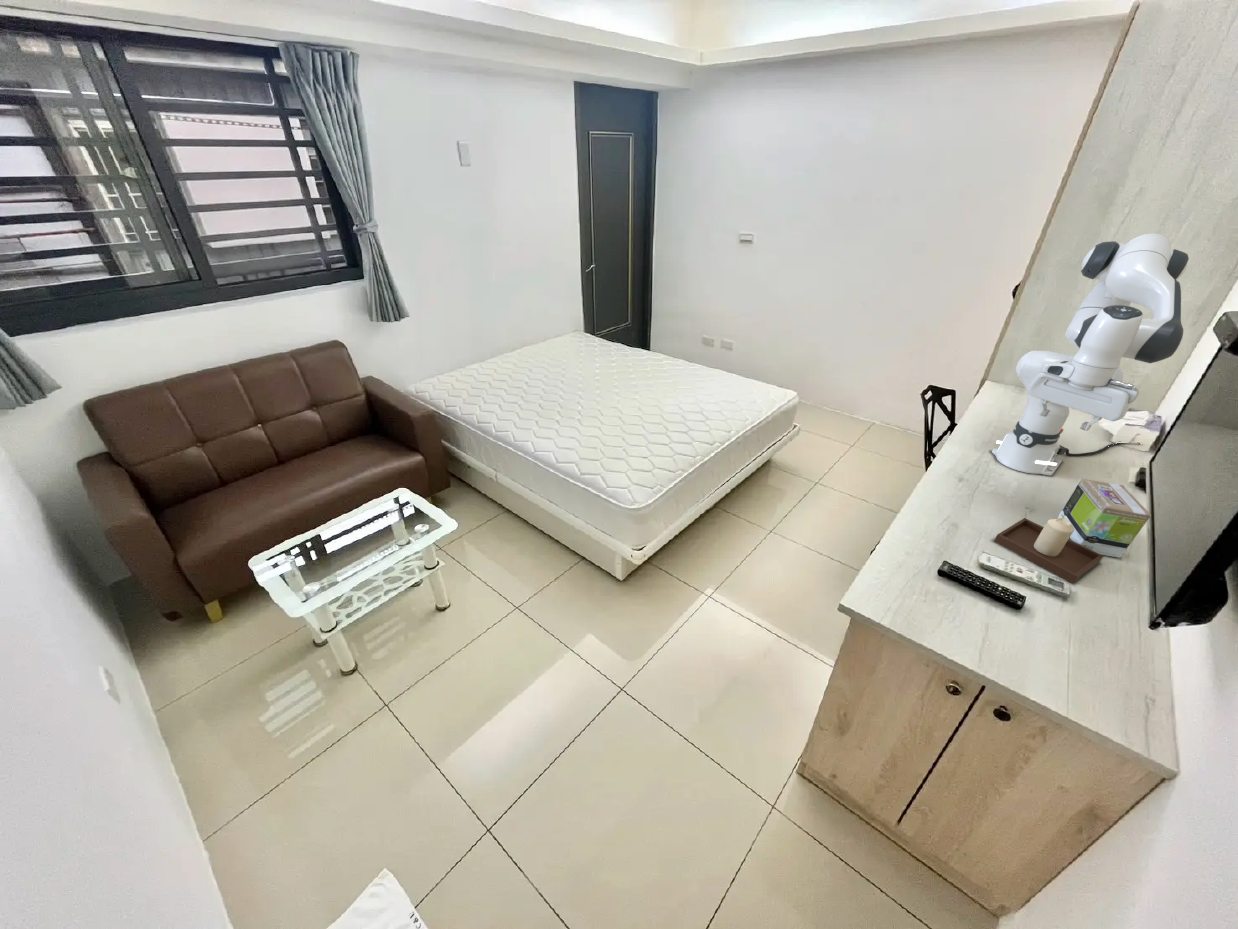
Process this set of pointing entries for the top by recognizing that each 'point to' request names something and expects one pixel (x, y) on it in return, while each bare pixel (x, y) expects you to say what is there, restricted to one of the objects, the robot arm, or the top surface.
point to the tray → (1064, 565)
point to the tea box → (1104, 517)
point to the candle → (1054, 536)
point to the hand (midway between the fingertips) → (1062, 422)
